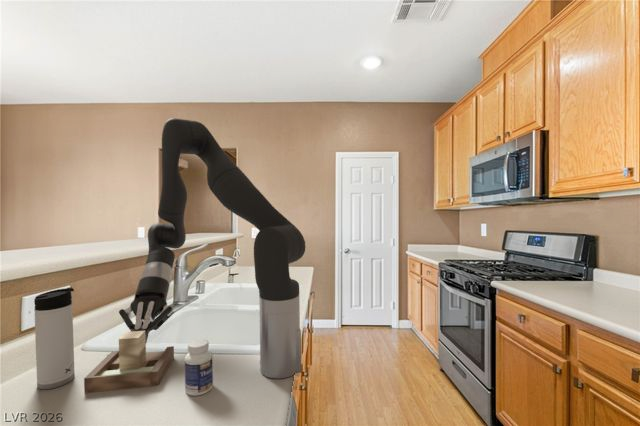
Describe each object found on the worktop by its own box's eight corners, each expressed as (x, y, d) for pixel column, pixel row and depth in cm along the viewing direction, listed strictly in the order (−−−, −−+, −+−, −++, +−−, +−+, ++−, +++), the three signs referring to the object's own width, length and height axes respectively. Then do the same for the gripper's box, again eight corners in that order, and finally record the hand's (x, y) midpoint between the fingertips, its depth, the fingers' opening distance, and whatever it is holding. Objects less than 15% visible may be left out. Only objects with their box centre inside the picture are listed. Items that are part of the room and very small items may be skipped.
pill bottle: (203, 398, 62) (202, 349, 62) (179, 395, 63) (178, 347, 63) (217, 383, 67) (217, 338, 67) (195, 380, 69) (194, 336, 68)
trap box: (174, 358, 79) (173, 346, 78) (157, 385, 67) (157, 371, 67) (112, 363, 76) (112, 351, 76) (84, 392, 64) (84, 378, 64)
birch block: (146, 360, 74) (145, 330, 73) (139, 368, 70) (138, 337, 69) (127, 361, 73) (126, 331, 73) (119, 370, 69) (118, 339, 69)
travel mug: (79, 380, 69) (76, 290, 68) (39, 393, 64) (35, 296, 64) (73, 370, 73) (70, 285, 73) (35, 382, 68) (32, 291, 68)
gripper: (123, 276, 82) (100, 343, 70) (177, 273, 84) (164, 338, 72) (132, 291, 87) (112, 355, 75) (183, 288, 89) (171, 350, 78)
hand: (137, 347), depth 74 cm, fingers closed
